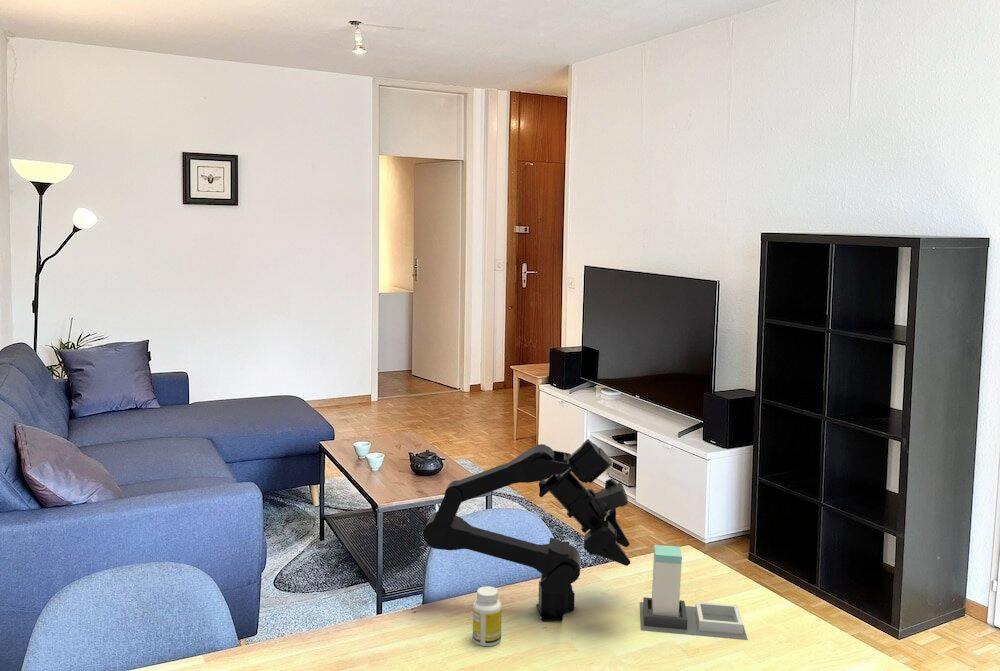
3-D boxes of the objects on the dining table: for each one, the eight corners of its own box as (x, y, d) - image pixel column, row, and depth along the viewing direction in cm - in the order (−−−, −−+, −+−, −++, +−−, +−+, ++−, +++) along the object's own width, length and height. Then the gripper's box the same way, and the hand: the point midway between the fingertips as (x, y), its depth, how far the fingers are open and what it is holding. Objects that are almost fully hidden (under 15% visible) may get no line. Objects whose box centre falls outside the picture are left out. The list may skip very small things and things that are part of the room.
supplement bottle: (505, 635, 157) (506, 587, 156) (495, 649, 152) (496, 599, 151) (478, 630, 159) (479, 582, 158) (468, 644, 154) (469, 594, 152)
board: (640, 635, 158) (641, 620, 158) (639, 606, 170) (639, 592, 170) (747, 644, 156) (748, 629, 155) (738, 615, 167) (739, 601, 167)
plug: (652, 622, 161) (655, 554, 159) (651, 610, 166) (654, 544, 164) (678, 624, 161) (681, 556, 159) (676, 612, 166) (679, 546, 164)
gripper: (604, 486, 152) (661, 547, 152) (605, 457, 170) (656, 512, 170) (560, 524, 154) (617, 584, 154) (565, 492, 172) (616, 546, 173)
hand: (628, 554), depth 163 cm, fingers open, 9 cm apart
